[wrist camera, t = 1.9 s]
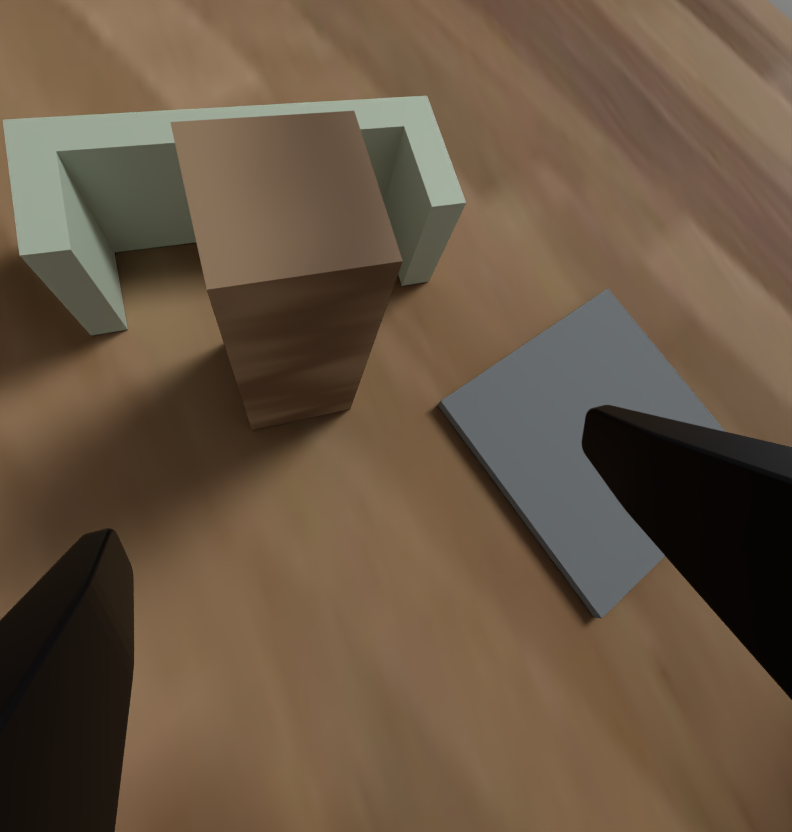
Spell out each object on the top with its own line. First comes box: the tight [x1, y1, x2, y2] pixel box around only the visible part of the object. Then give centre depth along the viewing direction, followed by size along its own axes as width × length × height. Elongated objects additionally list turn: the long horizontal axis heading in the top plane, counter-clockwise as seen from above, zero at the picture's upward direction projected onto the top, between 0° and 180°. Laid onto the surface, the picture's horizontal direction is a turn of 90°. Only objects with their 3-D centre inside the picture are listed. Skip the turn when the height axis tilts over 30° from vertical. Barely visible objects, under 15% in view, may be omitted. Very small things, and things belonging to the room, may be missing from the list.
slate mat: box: [438, 289, 725, 618], centre depth 25 cm, size 12×12×1 cm
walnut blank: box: [170, 111, 403, 431], centre depth 17 cm, size 4×4×12 cm
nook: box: [3, 96, 466, 335], centre depth 22 cm, size 16×6×6 cm, turn 106°
